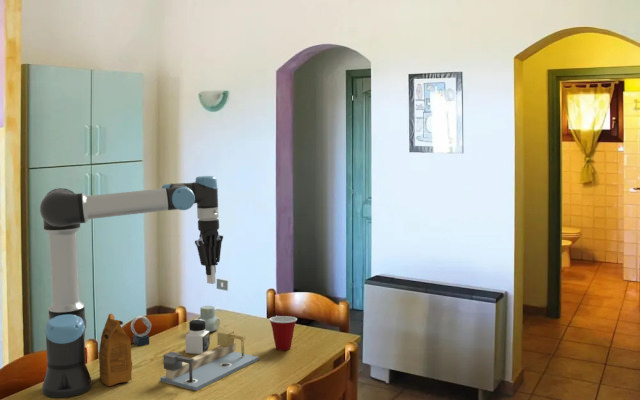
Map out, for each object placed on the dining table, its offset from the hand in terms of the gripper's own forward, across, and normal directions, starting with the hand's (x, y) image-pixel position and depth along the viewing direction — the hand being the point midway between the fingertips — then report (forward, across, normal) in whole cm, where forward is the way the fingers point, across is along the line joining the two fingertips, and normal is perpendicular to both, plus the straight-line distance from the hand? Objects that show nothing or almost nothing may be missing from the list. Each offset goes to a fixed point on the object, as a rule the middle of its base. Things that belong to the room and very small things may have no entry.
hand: (211, 283), depth 245 cm
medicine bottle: (+29, +4, +12) cm, 32 cm away
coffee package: (+28, -33, +15) cm, 46 cm away
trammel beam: (+28, -8, -4) cm, 29 cm away
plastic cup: (+30, +24, -14) cm, 41 cm away
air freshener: (+29, +26, +27) cm, 47 cm away
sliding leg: (+28, +5, -4) cm, 28 cm away
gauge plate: (+29, -9, -6) cm, 31 cm away
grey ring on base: (+28, -2, +37) cm, 47 cm away
